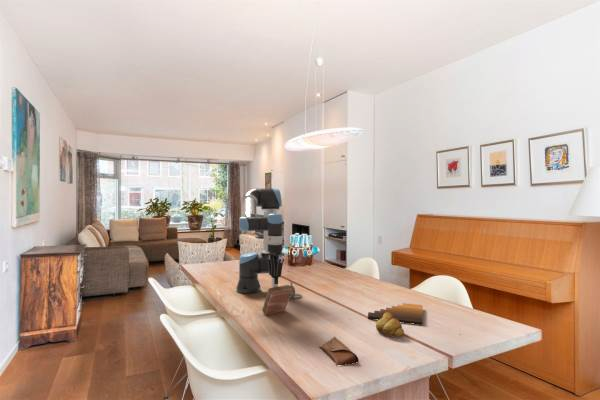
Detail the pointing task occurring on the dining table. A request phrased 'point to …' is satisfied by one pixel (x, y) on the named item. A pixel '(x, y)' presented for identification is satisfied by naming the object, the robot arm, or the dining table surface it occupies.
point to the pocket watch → (294, 292)
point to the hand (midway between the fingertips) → (274, 290)
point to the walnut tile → (276, 299)
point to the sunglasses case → (339, 352)
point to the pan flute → (401, 313)
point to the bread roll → (389, 326)
